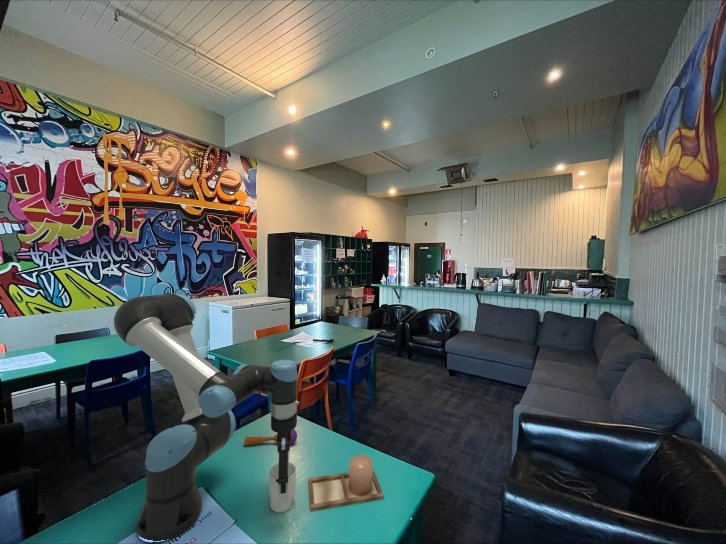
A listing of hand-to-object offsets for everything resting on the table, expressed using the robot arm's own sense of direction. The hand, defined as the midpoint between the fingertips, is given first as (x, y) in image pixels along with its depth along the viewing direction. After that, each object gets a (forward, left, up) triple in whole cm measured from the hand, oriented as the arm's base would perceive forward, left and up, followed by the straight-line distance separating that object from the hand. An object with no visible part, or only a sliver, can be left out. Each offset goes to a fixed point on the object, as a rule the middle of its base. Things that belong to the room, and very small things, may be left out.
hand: (283, 484), depth 88 cm
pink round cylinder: (+24, 0, -5) cm, 24 cm away
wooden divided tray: (+19, 0, -6) cm, 20 cm away
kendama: (-6, +31, -6) cm, 32 cm away
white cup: (0, 0, -6) cm, 6 cm away
